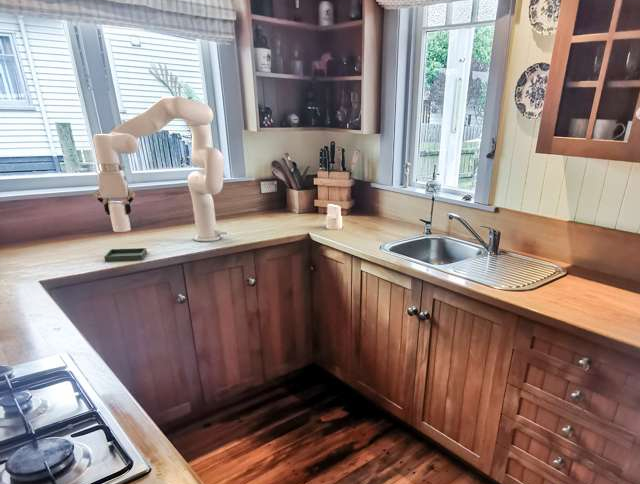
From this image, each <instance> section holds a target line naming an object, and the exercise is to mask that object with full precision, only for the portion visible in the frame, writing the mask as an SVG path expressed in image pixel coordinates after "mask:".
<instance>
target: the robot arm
mask: <svg viewBox="0 0 640 484" xmlns="http://www.w3.org/2000/svg"><path fill="white" fill-rule="evenodd" d="M175 119H176V120H177V119H178V120H182V121H183V122H184V123H185V125H187V127H188V129H189V131H190V133H191V158H190V159H191V162H192V165H193V166H195V167H196V168H199V169H204V170H203V171H201V170H194V171H192V172H191V173H189V175H188V177H187V186H188V190H189V193H190V197H191V203H192V209H193V217H194V218H193V219H194V225H195V232H196V234H194V235H193V240H194V241H197V242H215V241H218V240H221V238H222V236H227V234H228V233H227V230H225V229H224V230H223V229H221V230H220V229H219V228H218V227H217V221H216V220H217V219H216V212H215V203H214V198H213V196H215V195H218V194H220V193H221V192H222V189H223V186H224V175H225V174H224V172H225V158H224V155H223V153H222V152H221V151H220V150H219V149H218V148H216V147H212V144H213V143H212V142H213V141H212V132H211V129H210V127H209V125H210V124H211V123H212V122H213V120H214V111H213V110H212V108H211V107H210V106H209V105H208V104H206V103H204V102H200V101H196V100H192V99H189V98H186V97H183V96H174V95H172V96H171V95H165V96H163V97H161V98H159V99H158V100H157V101H156V102H154V103H153V104H152V105H151V106H149V107H148V108H147V109H145V110H144V111H143V112H141V113H140V114H137V115H135V116H134V117H132V118H130V119H127V120H126V121H124V122H122V123H121V124H119V125H117V126H115V128H113V130H111V131H110V132H109V133H96V134H93V136H92V141H93V147H94V152H95V155H96V156H95V157H96V161H97V167H98V172H97V185H98V189H97V190H96V191H95V192H93V194H92V197H94V198H95V200H98V202H100V203H101V204H102V205H103V207H104V212H105V213H106V215H107V216H110V212H109V207H108V205H109V199H122V200H123V201H124V203H125V204H126V205H125V208H126V213H127V215H128V216H129V215H130V214H131V213H132V208H131V203H132V202H133V200H134V199H135V198H136V197H137V196H138V194H137V193H136V192H135V191H134V190H132V189H131V188H129V184H128V180H127V176H126V175H125V171H123V169H125V165H124V164H121V163H120V158H119V154H123V155H132V154H135V153H137V152H138V151H139V149H140V141H139V140H138V139H139V138H143V137H146V136H151V135H154V134H156V133H159V132H160V131H161V130H162V129H163V128H164V127H166V126H167V125H169V123H171V121H173V120H175ZM128 196H130V197H128Z"/></svg>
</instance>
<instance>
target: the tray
mask: <svg viewBox="0 0 640 484" xmlns="http://www.w3.org/2000/svg"><path fill="white" fill-rule="evenodd" d="M147 253H148V251H147V247H139V248H138V247H135V248H110V249H109V251H108V252H106V254H105V255H104V261H105V262H124V261H125V262H127V261H143V260H144V258H145V256H146V255H147Z"/></svg>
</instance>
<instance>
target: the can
mask: <svg viewBox="0 0 640 484" xmlns="http://www.w3.org/2000/svg"><path fill="white" fill-rule="evenodd" d="M108 204H109V205H108V207H109V212H110V215H109V217H110V222H111V226H112V230H113V232H114V233H127V232H130V231H131V230H132V229H131V223H130V218H129V217H130V216H129V215H127V213H126V208H125V205H126V203H125V201H124V200H123V199H115V200H113V199H112V200H108Z"/></svg>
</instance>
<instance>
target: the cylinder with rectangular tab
mask: <svg viewBox="0 0 640 484" xmlns="http://www.w3.org/2000/svg"><path fill="white" fill-rule="evenodd" d="M326 208H327V209H326V215H325V228H326V229H328V230H340V229H341V230H342V228H343V216H342V211H341V210H342V207H341V205H337V204H333V203H329V204H327V205H326Z"/></svg>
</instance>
